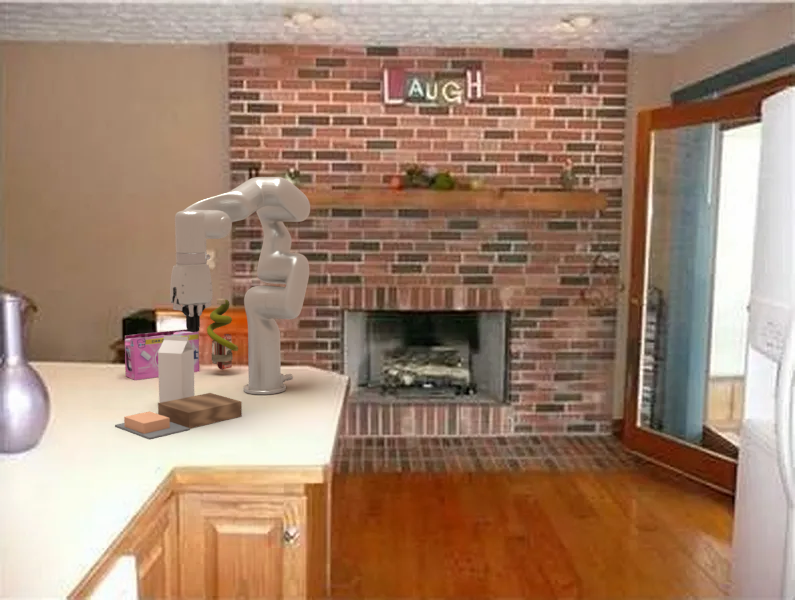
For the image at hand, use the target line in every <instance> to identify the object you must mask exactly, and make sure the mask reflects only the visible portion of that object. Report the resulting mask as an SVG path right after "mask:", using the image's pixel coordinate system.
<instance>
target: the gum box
mask: <svg viewBox="0 0 795 600" xmlns="http://www.w3.org/2000/svg"><path fill="white" fill-rule="evenodd" d="M199 332H200V331H198V332H190V331H187V328H186V329H176V330H167V331H157V332H147V333H137V334H129V335H128V334H127V335H124V352H125V353H124V355H125V356H124V362H125V363H124V365H125V366H124V368H125V369H124V370H125V377H127V378H129V379H131V380H134V381H138V380H145V379H146V380H147V379H153V378H159V370H158V351H159V349H160V347H161V345H162V343H163V341H164V336H178V337H188V342H189V343H190V345H191V346H192V348H193V350H194V373H197V372H200V337H199V336H200V335H199V334H200V333H199Z"/></svg>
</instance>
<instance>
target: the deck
mask: <svg viewBox="0 0 795 600" xmlns="http://www.w3.org/2000/svg"><path fill="white" fill-rule="evenodd" d="M242 404H243V403H242V401H241V400H238V399H234V398H230V397H226V396H222V395H219V394H215V393H213V392H208V393H203V394H198V395H194V396H192V397H187V398H182V399H177V400H172V401H166V402H161V403H159V402H157V414H159V415H162V416H165V417H168V418H170V422H173V423H176V424H179V425H182V426H185V427H188V428H190V429H194V428H198V427H203V426H206V425H210V424H215V423H218V422H223V421H227V420H231V419H236V418H240V417H242V415H243V413H242V411H243V409H242V407H243V405H242Z"/></svg>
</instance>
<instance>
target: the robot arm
mask: <svg viewBox="0 0 795 600" xmlns="http://www.w3.org/2000/svg"><path fill="white" fill-rule="evenodd" d="M255 212H256V216H258V219H259V222H260V225H261V228H262V232H263V241H262V245H261V251H260V254H259V257H258V258H259V259H258V263H257V268H256V275H257V278H258V279H259V281H261V282H263V283H266V284H273V285H255V286H252V287H250V288H249V289H248V290H247V291H246V292H245V295H244V298H243V304H244V310H245V315H246V321H247V349H248V350H247V354H248V355H247V356H248V359H247V360H248V367H247V368H248V384H245V385H244V386H243V388H242V389H243V392H244V393H247V394H250V395H273V394H279V393H283V392H285V391H286V390H287V389H286V388H287V387H286V384H285V382H287V381H292V380H293V378H294V376H293V374H292V373H287V374H284V373H281V371H282V369H281V366H282V365H281V330H280V328H279V324H278V323H277V321H276V320H275V319H277V320H278V319H279V320H294V319H297V318H298V317H299V315H301V312H302V310H303V305H304V301H305V298H306V297H305V296H306V294H307V293H306V292H307V289H308V288H307V286H308V283H309V280H310V279H309V277H310V264H309V260H308V257H306V256H305V255H304V254H302V253H298V252H297V253H296V252H291V248H292V241H293V240H292V236H291V233H290V232H289V230H288V227H287V226H286V225H285V222H286V223H287V222H288V223H289V222H290V223H292V222H295V223H299V222H303V221H305V220H307V219H308V217H309V216H310V214H311V213H310V212H311V202H310V201H309V199H308V197H307V195H306V194H305V193H304V192H303V191H302V190H300V188H298V187H297V186H296V185H295V184H294V183H292V182H291V181H289V180H288V179H286V178H284V177H280V176H256V177H252V178H249V179H247V180H245V181H244V182H242V183H241V184H239V185H238V186H236V187H235V188H233V189H231V190H229V191H228V192H227V191H226V192H224V193H220V194H218V195H214V196H211V197H208V198H205V199H202V200H199V201H196V202H194V203H193V204H190V205H189V206H188V207H186V208H185V209H183V210H180V211H177V212H176V213H175V215H174V232H175V235H174V238H175V265H173V266H172V269H171V275H170V287H169V301H170V303H171V304H172V305H173V306H172V309H173V310H174V311H180V312H181V313H183V315H184V316H185V324H186V329H187V331H190V332H200V326H201V322H200V321H201V318H200V316H202V315H203V312H204V310H205V309H207V308H210V307H212V305H213V304H212V301H213V281H212V273H211V269H210V266H209V264H208V260H210V259H211V255H210V254H207V240H219V239H223V238H225V237H227V236H228V235H230V232H231V231H232V227H233V224H232V223H234V222H238V221H243V220H245V219H247V218H248V217H250V216H251V215H252V214H254V213H255ZM274 284H275V285H285V286H275V285H274Z"/></svg>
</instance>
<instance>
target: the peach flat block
mask: <svg viewBox="0 0 795 600" xmlns="http://www.w3.org/2000/svg"><path fill="white" fill-rule="evenodd" d="M123 419H124V420H123V423H124V425H125V427H127V428H130V429H132V430H135V431H138V432H141V433H143V434H145V433H149V432H154V431H158V430H162V429H167V428H170V418H168V417H165V416H162V415H159V414H158V413H156V412H154V411H153V412H152V411H150V410H149V411H144V412H141V413H135V414H132V415H126V416H124V417H123Z"/></svg>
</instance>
